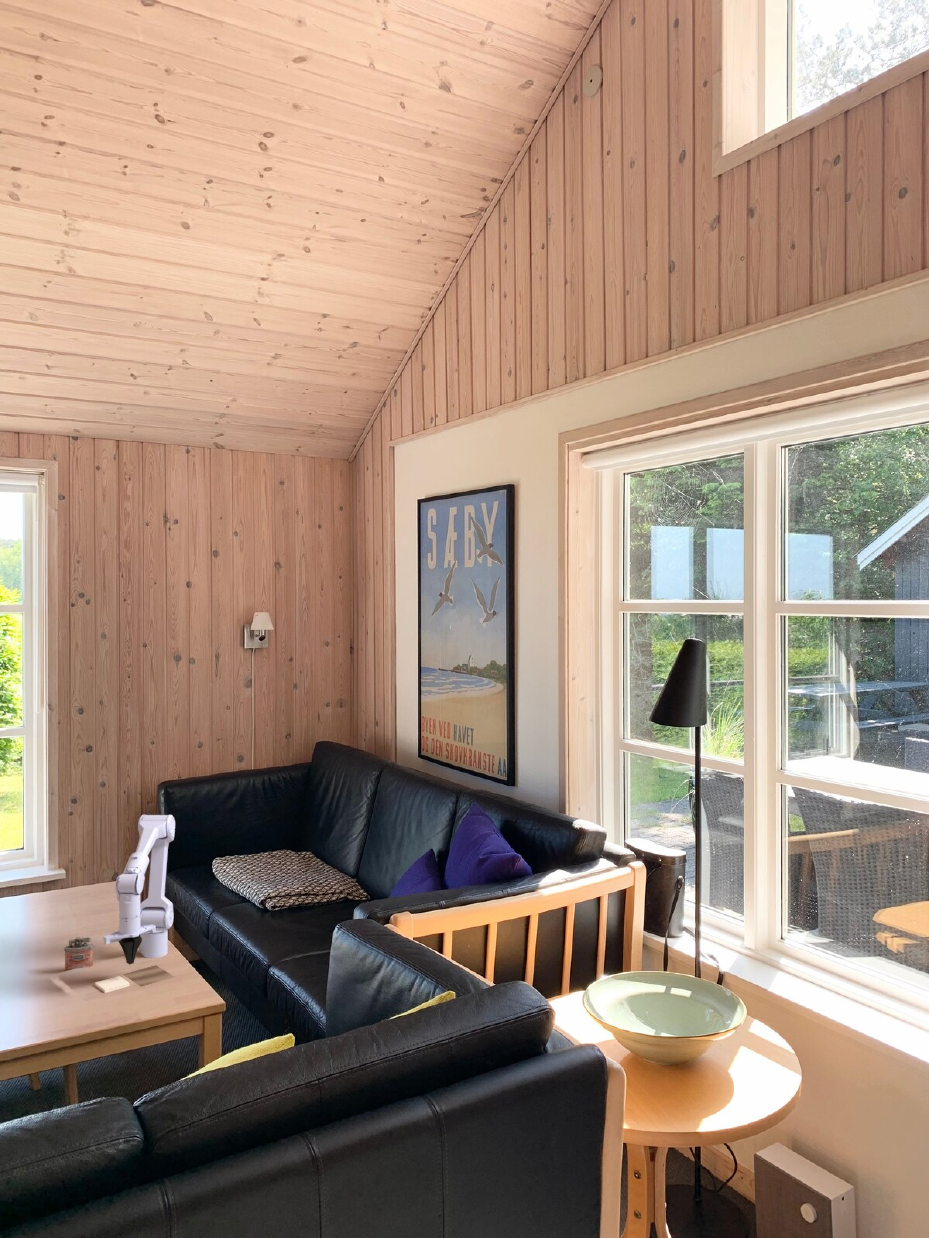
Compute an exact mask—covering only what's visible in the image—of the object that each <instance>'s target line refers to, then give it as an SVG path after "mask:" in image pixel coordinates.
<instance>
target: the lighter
mask: <svg viewBox="0 0 929 1238" xmlns="http://www.w3.org/2000/svg"><path fill="white" fill-rule="evenodd" d="M91 942H92V938H91V937H90V936H86V937H85V936H84V937H80V936H77V937H75V938H72V939H71V938H69V939H68V945H66V946H64V948H63V950H64V972H68V971H72V970H75V969H83V968H90V967H92V966H94V944H93V943H91Z"/></svg>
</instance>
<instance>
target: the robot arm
mask: <svg viewBox="0 0 929 1238" xmlns="http://www.w3.org/2000/svg"><path fill="white" fill-rule="evenodd" d="M175 829H176V820H175V817H174V816H173V815H172V814H164V815H163V814H142V815H141V816H140V817H139V818H138V823H137V831H138V835H139V839H138V843H137V847H136V849H135V852H133V853H131V854H130V856H129V857H128V860H127V862H126V865H125V867H124V870H123V872H122V873H121V874H120V875H118V876H117V878H116V881H115V894H116V897H117V898H116V900H117V901H118V912H119V913H118V916H119V917H118V918H119V919H118V927H119V929H118V930H117V931H114V932H113V933H110V934H107V935H104V936H102V939H103V944H104V945H106V946H107V945H110V944H111V943H116V942H118V943H119V946H121V949H122V951H123V953H124V958H125V961H126V964H128V965H132V964H134V963H135V961H136V960H135V959H136V955H137V952H138V953H140V954H141V955H142V957H144V958H146V959H156V958H157V959H159V958H162V957H164V956H166V955H168V951H169V947H168V939H169V936H168V931H169V930H170V929H171V927H172V925H173V923H174V918H175V917H174V914H175V913H174V904H173V902H172V901H170V899H168V898H167V897H166V896H165V893H166V879H167V863H168V854H169V853H168V852H169V851H168V849H169V844H170V843H171V842H173V841H174V839H175V832H176V830H175ZM150 852H151V854H150ZM149 854H150V858H149ZM149 863H150V864H149ZM149 865H150V866H149ZM148 866H149V867H150V869H149V880H148V892H147V893H148V894H147V898H146V899H144V900H143V901H142V902H141V894H142V892H143V890H144V884H145V879H146V877H145V874H146V872H147V868H148Z"/></svg>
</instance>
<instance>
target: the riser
mask: <svg viewBox="0 0 929 1238" xmlns="http://www.w3.org/2000/svg"><path fill="white" fill-rule="evenodd" d="M123 976H125V977H126V978H128V979H129V980H131V981H132V982H134V983H135V984H137V985H138V986H140V987H145V986H149V985H151V984H154V983H159V982H162V981H165V980H169V979H171V978H172V979H173V978H175V976H174V975H173V974H171V973H169V972H168V971H166V970H165V969H164V968H161V967H160V966H158V965H156V964H155V965H151V966H149V967H144V968H141V969H138V970H134V971H131V972H127V973H123Z"/></svg>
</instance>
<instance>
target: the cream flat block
mask: <svg viewBox="0 0 929 1238" xmlns="http://www.w3.org/2000/svg"><path fill="white" fill-rule="evenodd" d="M94 986H95V987H96V988H98V989H99V990H100V991H101V992H103V993H104V994H105V993H110V992H113V991H117V990H121V989H123V988H127V987H130V986H131V985H130V981H127V980H126V979H125V978H123V977H121V976H120V975H116V976H114V977H111V978H106V979H103V980H100V981H95V982H94Z"/></svg>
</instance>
